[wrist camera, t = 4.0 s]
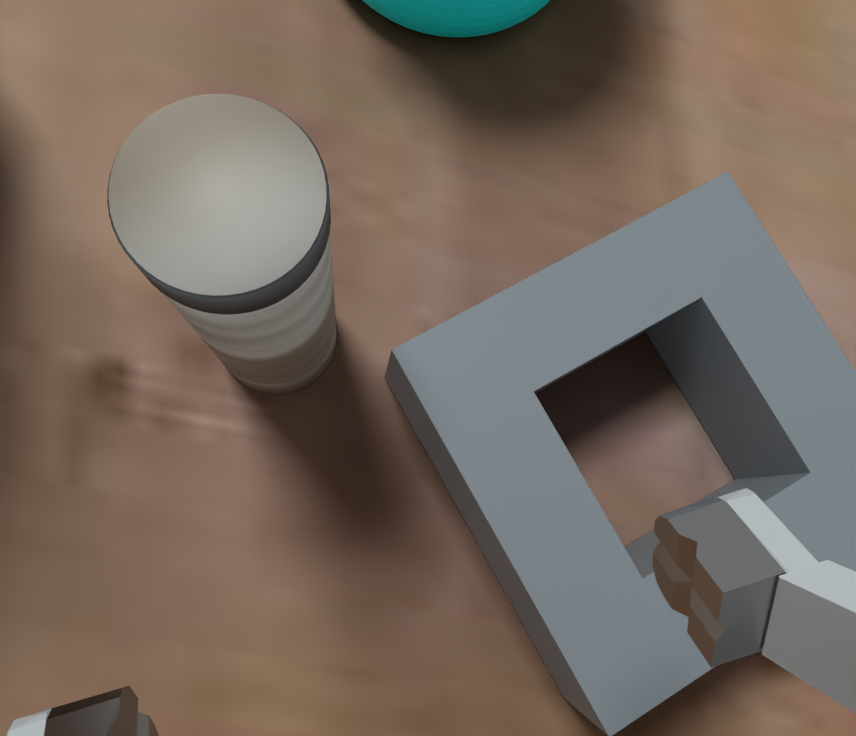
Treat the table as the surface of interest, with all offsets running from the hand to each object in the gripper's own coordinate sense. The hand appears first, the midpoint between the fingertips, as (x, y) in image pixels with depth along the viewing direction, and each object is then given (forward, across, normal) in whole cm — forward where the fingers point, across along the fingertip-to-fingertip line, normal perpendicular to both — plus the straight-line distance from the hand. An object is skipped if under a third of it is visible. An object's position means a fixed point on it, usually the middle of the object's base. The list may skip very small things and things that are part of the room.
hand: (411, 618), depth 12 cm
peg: (+16, +1, +4) cm, 16 cm away
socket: (+11, -9, +9) cm, 17 cm away
